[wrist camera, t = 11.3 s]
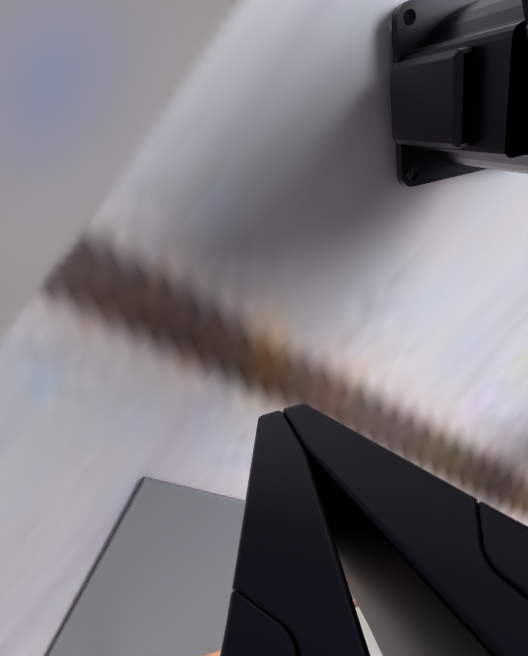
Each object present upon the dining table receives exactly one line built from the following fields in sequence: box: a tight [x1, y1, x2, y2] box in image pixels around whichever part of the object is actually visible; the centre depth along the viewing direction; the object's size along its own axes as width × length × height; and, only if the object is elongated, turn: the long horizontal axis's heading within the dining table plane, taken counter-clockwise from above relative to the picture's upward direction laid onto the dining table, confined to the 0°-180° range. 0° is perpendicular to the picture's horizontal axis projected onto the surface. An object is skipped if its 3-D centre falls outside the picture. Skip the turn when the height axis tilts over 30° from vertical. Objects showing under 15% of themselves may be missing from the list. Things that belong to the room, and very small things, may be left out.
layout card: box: [47, 477, 384, 656], centre depth 31 cm, size 31×20×1 cm, turn 61°
